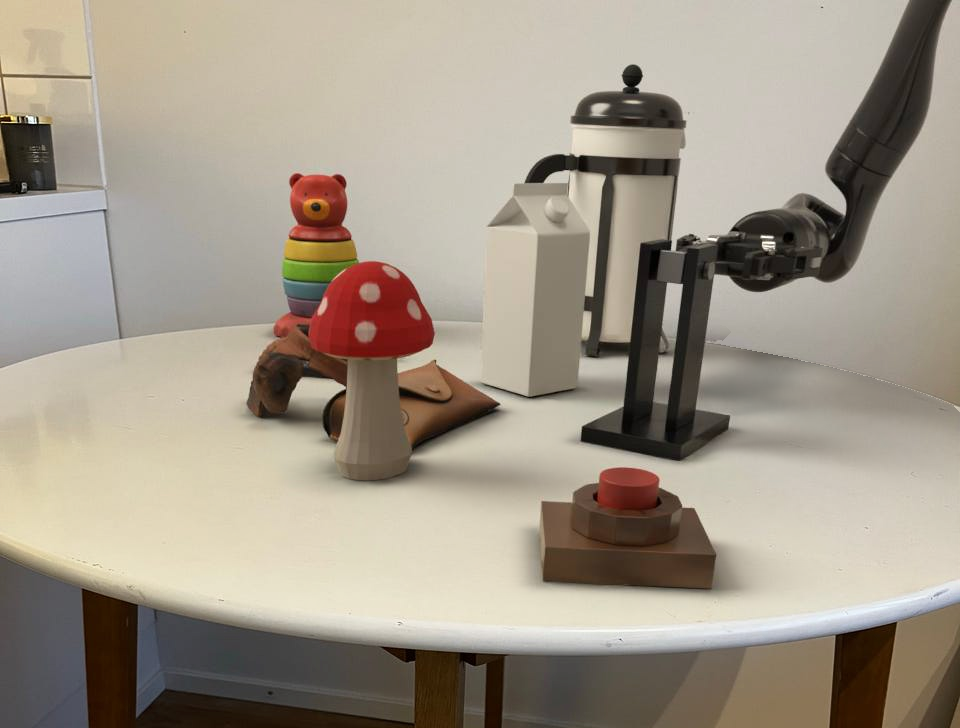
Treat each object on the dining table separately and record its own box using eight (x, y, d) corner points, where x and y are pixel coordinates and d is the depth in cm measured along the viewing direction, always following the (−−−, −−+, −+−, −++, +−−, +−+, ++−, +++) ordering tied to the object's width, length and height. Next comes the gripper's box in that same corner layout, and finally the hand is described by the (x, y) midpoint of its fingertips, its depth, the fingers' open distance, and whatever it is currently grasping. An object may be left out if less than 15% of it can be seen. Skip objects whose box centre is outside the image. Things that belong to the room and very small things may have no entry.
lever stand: (636, 412, 96) (656, 233, 89) (728, 429, 92) (756, 243, 85) (580, 441, 87) (597, 243, 80) (679, 460, 83) (706, 255, 76)
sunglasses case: (410, 449, 81) (373, 371, 79) (347, 480, 85) (310, 405, 83) (506, 403, 95) (475, 336, 94) (448, 431, 99) (418, 367, 98)
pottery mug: (264, 398, 97) (305, 322, 95) (344, 453, 96) (387, 377, 94) (203, 393, 86) (248, 306, 83) (293, 456, 85) (341, 370, 83)
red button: (652, 495, 64) (655, 468, 63) (660, 515, 60) (663, 487, 60) (594, 492, 64) (597, 465, 63) (599, 512, 60) (602, 484, 60)
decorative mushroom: (381, 497, 72) (380, 275, 65) (287, 474, 76) (276, 261, 69) (455, 463, 80) (461, 261, 73) (366, 443, 84) (363, 250, 77)
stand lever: (697, 279, 95) (701, 251, 94) (751, 285, 92) (756, 257, 91) (638, 279, 83) (642, 248, 83) (698, 286, 81) (703, 254, 80)
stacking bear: (270, 337, 121) (261, 173, 113) (287, 322, 130) (280, 169, 122) (360, 341, 121) (358, 177, 112) (371, 326, 130) (370, 173, 121)
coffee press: (564, 329, 133) (584, 66, 119) (683, 343, 127) (718, 69, 113) (510, 351, 119) (524, 57, 105) (640, 368, 113) (674, 59, 99)
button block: (690, 539, 67) (698, 481, 65) (711, 589, 60) (721, 525, 58) (539, 532, 67) (543, 474, 65) (542, 581, 60) (547, 517, 58)
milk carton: (479, 384, 104) (487, 180, 95) (528, 375, 108) (540, 180, 99) (528, 398, 99) (541, 186, 90) (577, 389, 104) (595, 185, 95)
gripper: (710, 203, 105) (645, 211, 92) (851, 214, 98) (803, 225, 85) (700, 280, 108) (636, 298, 95) (836, 295, 102) (787, 317, 89)
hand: (715, 263), depth 90 cm, fingers closed on stand lever, 5 cm apart
